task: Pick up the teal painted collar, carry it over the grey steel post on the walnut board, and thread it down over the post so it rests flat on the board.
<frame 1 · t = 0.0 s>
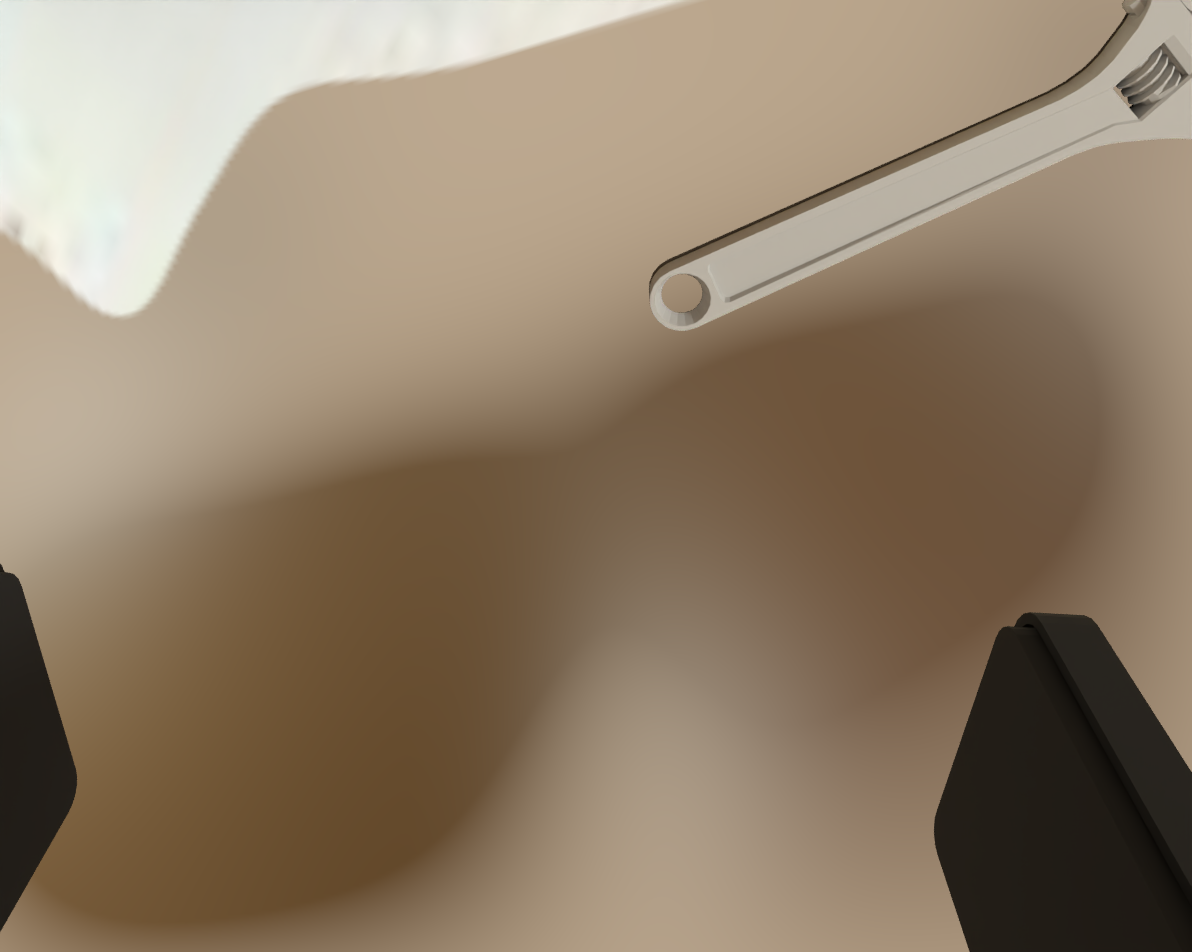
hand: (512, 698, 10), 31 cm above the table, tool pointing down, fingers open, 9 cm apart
adjustable wrench: (954, 141, 38), on the table
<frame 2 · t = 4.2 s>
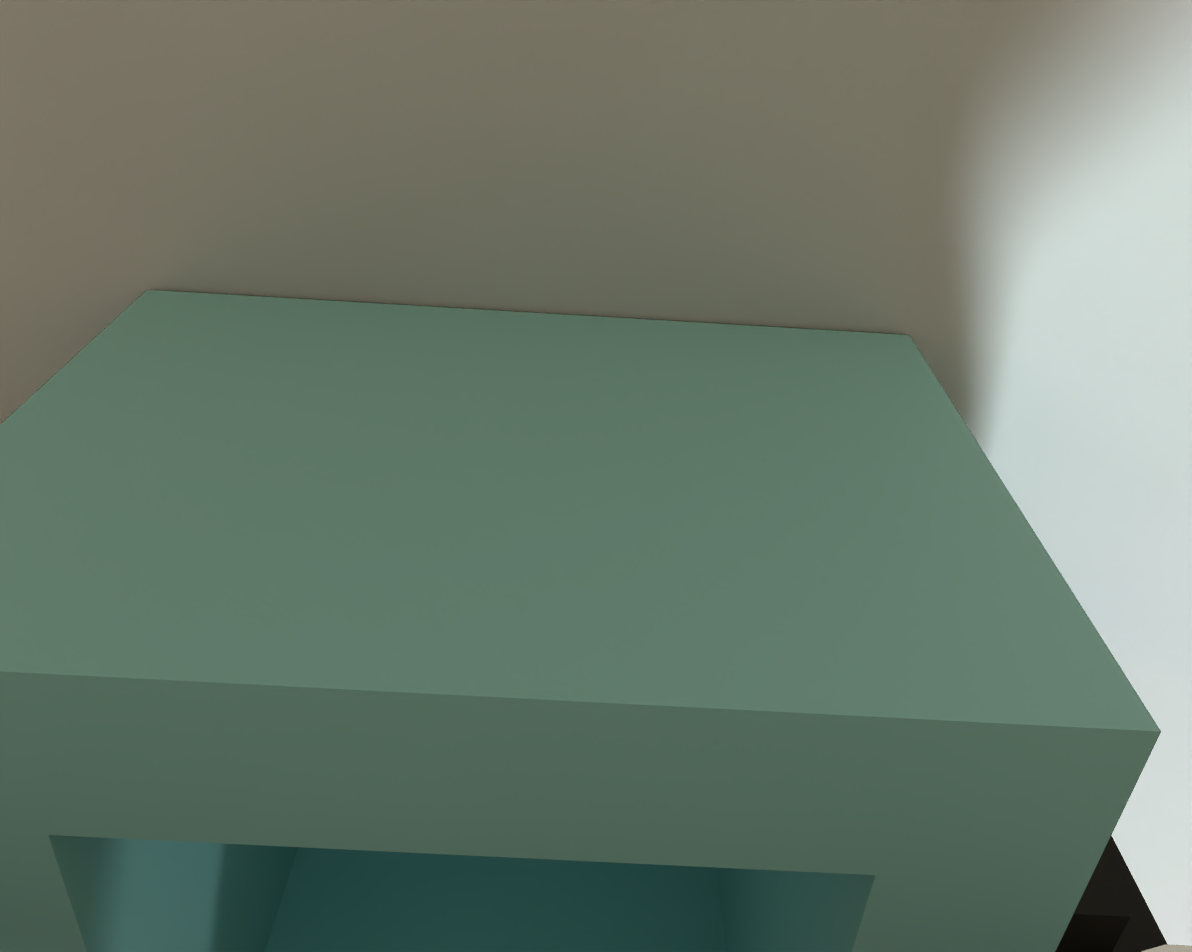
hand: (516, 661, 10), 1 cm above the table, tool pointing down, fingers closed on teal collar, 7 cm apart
teal collar: (522, 611, 11), on the table, touching gripper
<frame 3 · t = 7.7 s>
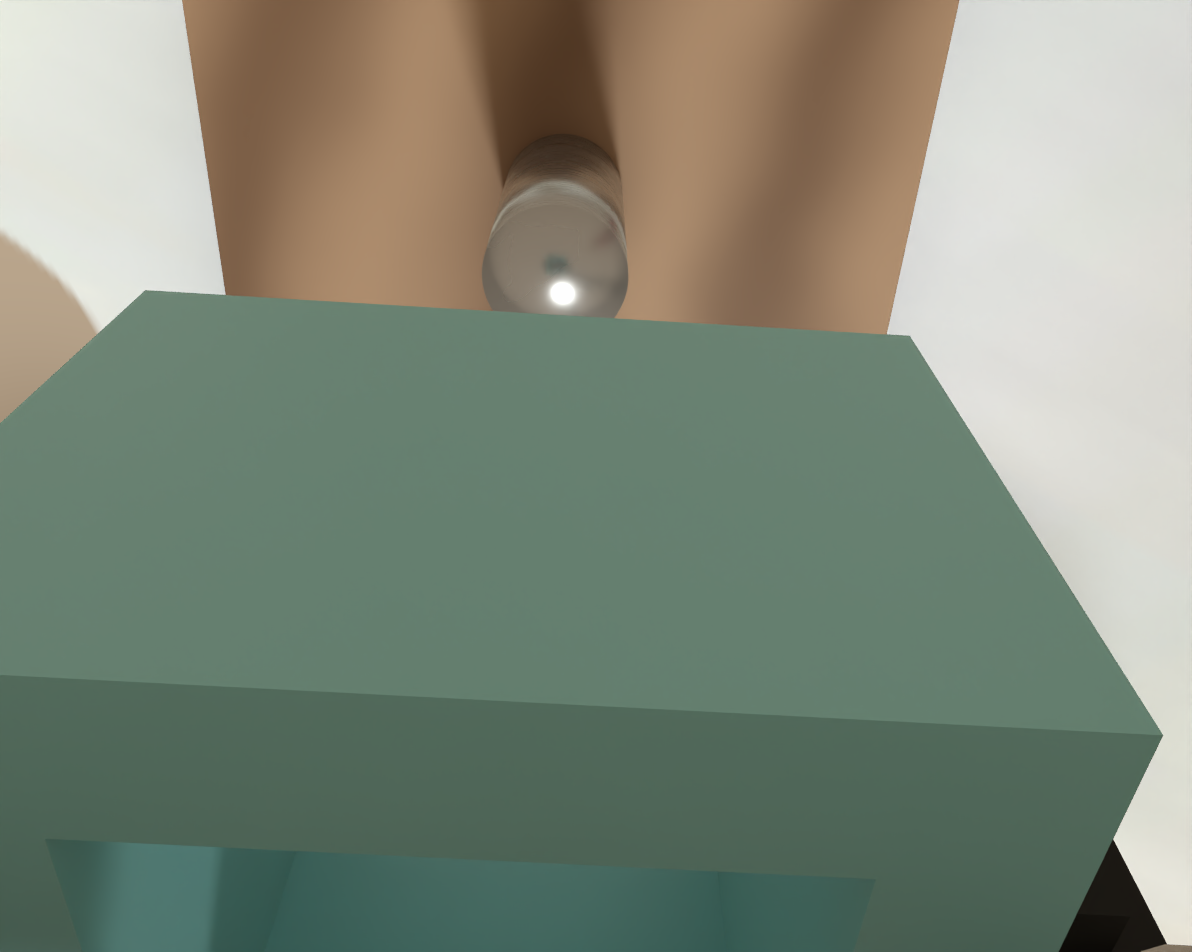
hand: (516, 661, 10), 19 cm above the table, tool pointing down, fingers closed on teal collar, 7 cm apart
teal collar: (522, 612, 11), point 19 cm above the table, touching gripper
steel post: (565, 178, 27), resting on walnut board
walnut board: (565, 178, 27), on the table
when the fingers open (4 cm above the table, at t = 11.6 s): teal collar drops 1 cm, resting on walnut board.
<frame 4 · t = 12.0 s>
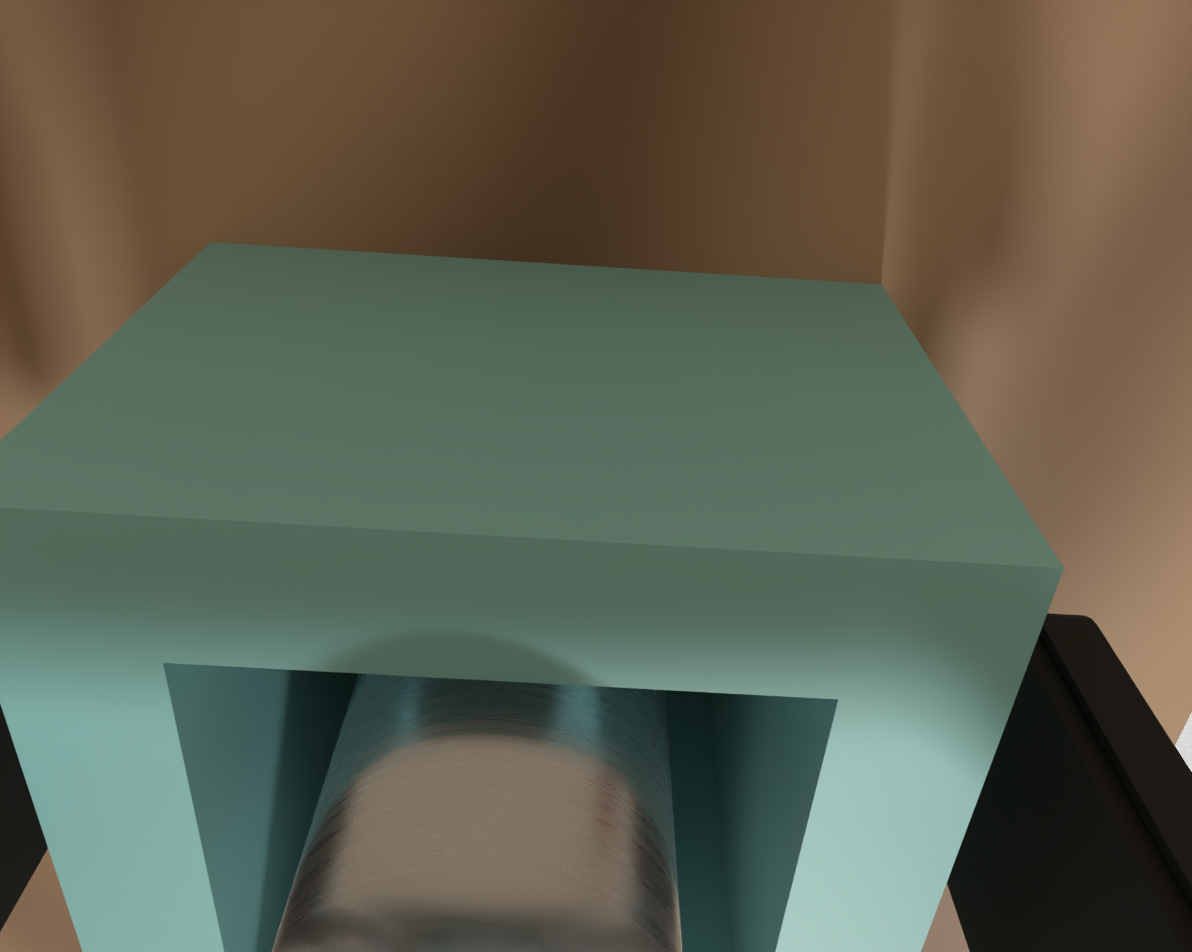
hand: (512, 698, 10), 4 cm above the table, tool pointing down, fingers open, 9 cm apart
teal collar: (537, 539, 12), point 1 cm above the table, touching walnut board
steel post: (538, 472, 14), resting on walnut board
walnut board: (538, 472, 14), on the table
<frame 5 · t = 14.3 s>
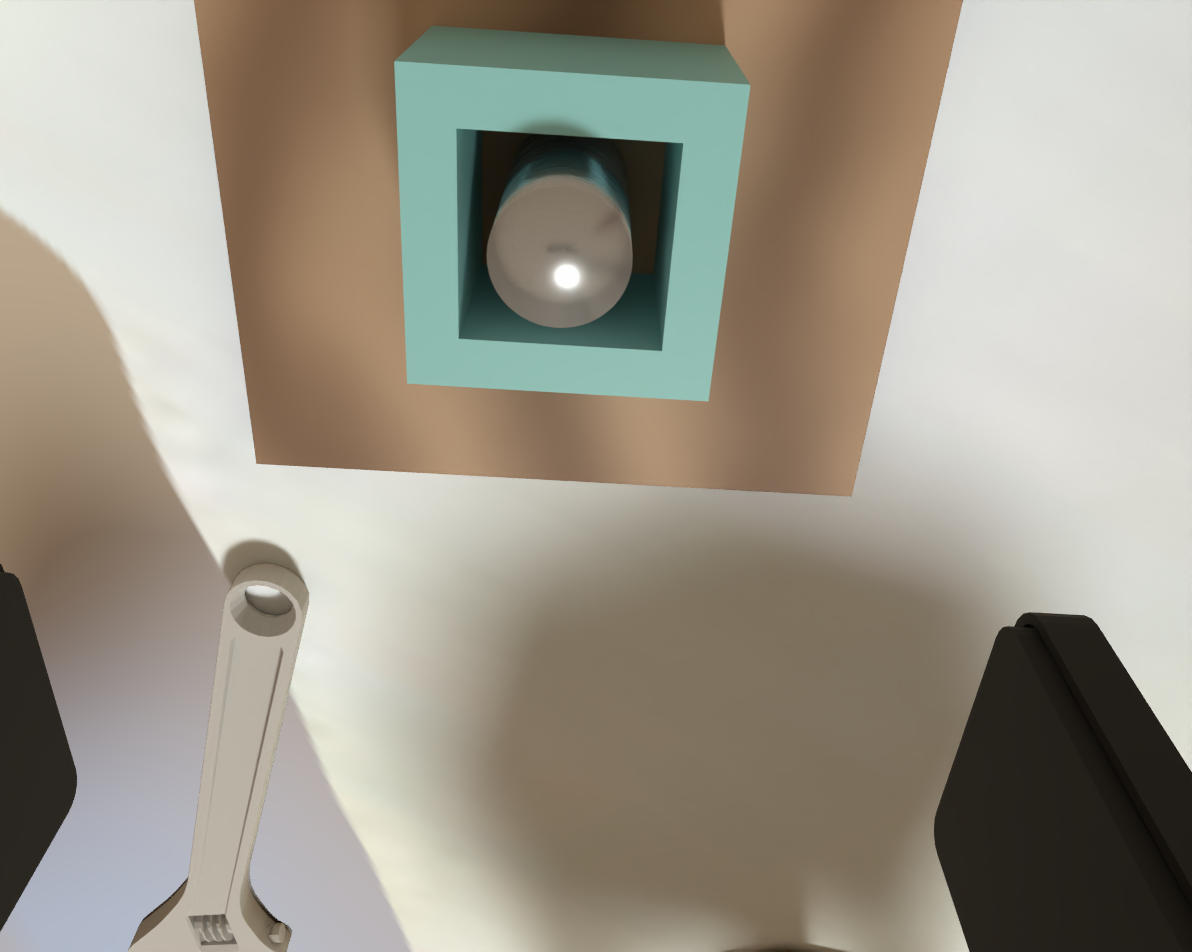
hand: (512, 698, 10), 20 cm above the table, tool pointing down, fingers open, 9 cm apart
adjustable wrench: (254, 802, 41), on the table
teal collar: (572, 182, 26), point 1 cm above the table, touching walnut board
steel post: (571, 166, 27), resting on walnut board
walnut board: (571, 166, 27), on the table
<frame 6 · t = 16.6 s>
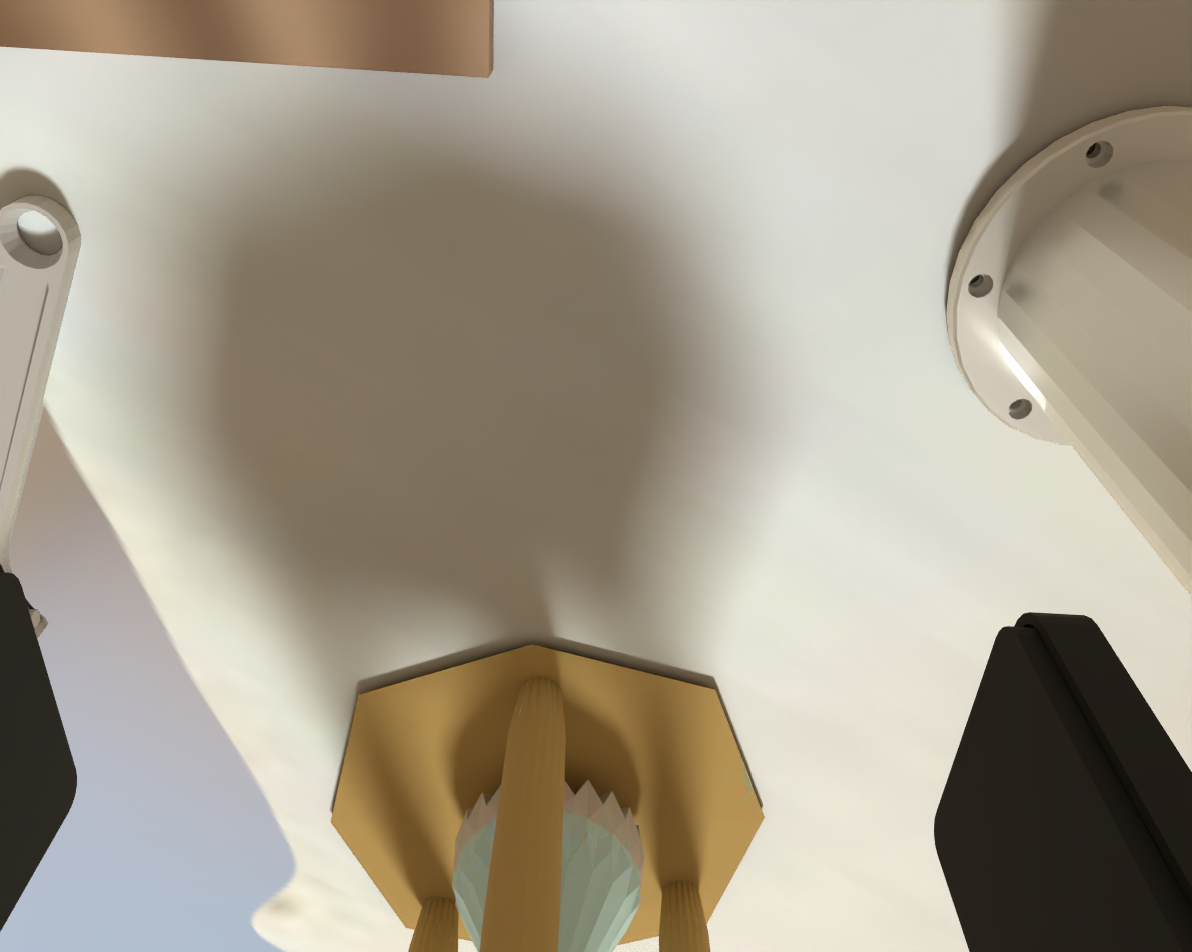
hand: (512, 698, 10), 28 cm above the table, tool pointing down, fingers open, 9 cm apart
adjustable wrench: (18, 473, 43), on the table
hourglass: (547, 808, 52), on the table
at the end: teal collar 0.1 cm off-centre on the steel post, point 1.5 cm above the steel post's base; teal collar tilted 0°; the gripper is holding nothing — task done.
